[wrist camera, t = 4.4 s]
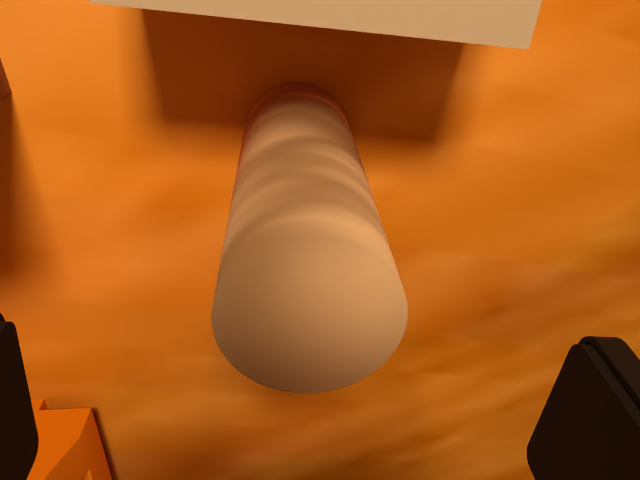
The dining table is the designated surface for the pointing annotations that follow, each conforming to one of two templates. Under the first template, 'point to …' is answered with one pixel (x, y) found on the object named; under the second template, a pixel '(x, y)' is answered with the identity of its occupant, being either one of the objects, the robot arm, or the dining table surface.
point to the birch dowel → (305, 253)
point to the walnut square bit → (3, 82)
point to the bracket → (67, 445)
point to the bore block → (378, 16)
